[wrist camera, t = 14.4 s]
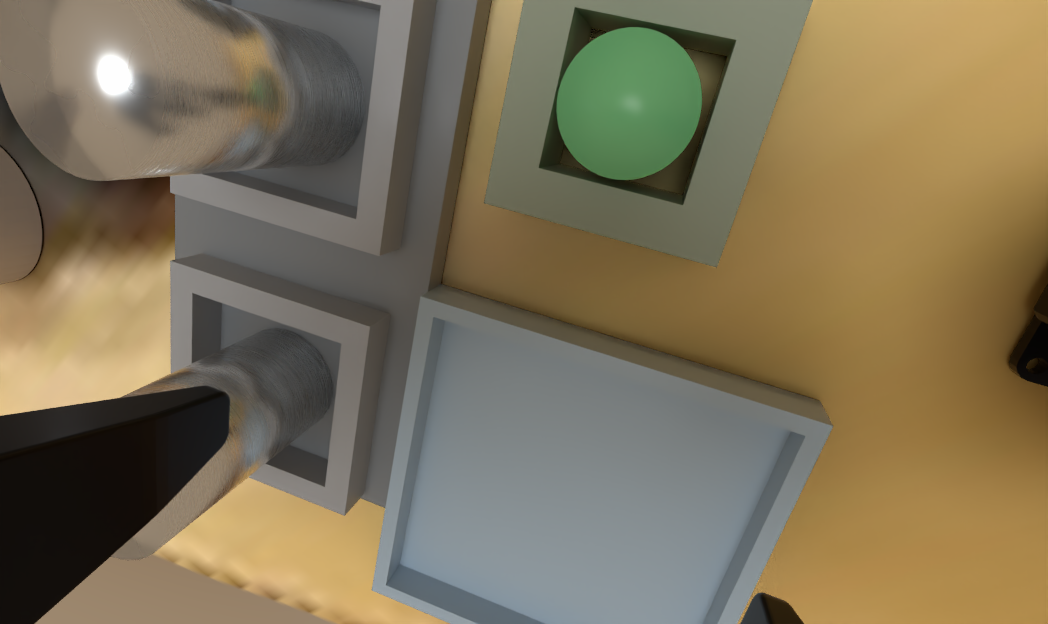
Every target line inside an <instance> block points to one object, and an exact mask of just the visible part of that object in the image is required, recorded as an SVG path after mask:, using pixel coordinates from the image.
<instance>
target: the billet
mask: <svg viewBox="0 0 1048 624" xmlns="http://www.w3.org/2000/svg"><path fill="white" fill-rule="evenodd" d="M204 385H205V386H211V387H213V388H216V389H219V390H221V391H224V392H226V393H227V394H228V395H229V398H230V419H229V434H228V438H227V440H226V442H225V444H224V445H223V446H222V448H221V449H220V450H219V451H218V452H217V453H216V454H215V455H214V456H213V457H212V458H211V459H210V460H209V461H208V462H207V464H206V465H205V466H204V467H203V468H202V469H201V470H200V471H199V472H198V473H197V474H196V475H195V476H194V477H193V478H192V479H191V480H190V481H189V482H188V484H187V485H186V486H185V487H184V488H183V489H182V490H181V491H180V492H179V493H178V494H177V495H176V496H175V497H174V498H173V499H172V500H171V501H170V502H169V504H168V505H167V506H166V507H165V508H164V509H163V510H162V511H161V512H160V513H159V514H158V515H157V516H155V517H154V518H153V519H152V520H151V521H150V522H149V523H148V524H147V525H146V526H145V527H143V528H142V529H141V530H140V531H139V532H138V533H137V534H136V535H134V536H133V537H132V538H131V539H130V540H129V541H128V542H126V543H125V544H124V545H123V546H122V547H121V548H120V549H119V550H117V551H116V552H115V553H114V554H113V555H112V556H111V557H114V558H118V559H123V560H139V559H143V558H146V557H148V556H150V555H151V554H153V553H154V552H155V551H157V550H158V549H159V548H160V547H162V546H163V545H164V544H165V543H167V542H168V541H169V540H170V539H172V538H173V537H174V536H175V535H177V534H178V533H179V532H180V531H182V530H183V529H184V528H185V527H187V526H188V525H189V524H190V523H192V522H193V521H194V520H195V519H197V518H198V517H199V516H200V515H202V514H203V513H204V512H205V511H207V510H208V509H209V508H210V507H212V506H213V505H214V504H215V503H217V502H218V501H219V500H220V499H222V498H223V497H224V496H225V495H227V494H228V493H229V492H230V491H232V490H233V489H234V488H235V487H237V486H238V485H239V484H240V483H242V482H243V481H244V480H245V479H247V478H248V477H249V476H250V475H252V474H253V473H254V472H255V471H257V470H258V469H259V468H260V467H262V466H263V465H264V464H265V463H267V462H268V461H269V460H270V459H272V458H273V457H274V456H275V455H277V454H278V453H279V452H280V451H282V450H283V449H284V448H285V447H287V446H288V445H289V444H290V443H292V442H293V441H294V440H295V439H297V438H298V437H299V436H300V435H302V434H303V433H304V432H305V431H307V430H308V429H309V428H310V427H312V426H313V425H314V424H315V423H317V422H318V421H319V420H320V419H321V418H322V417H323V416H324V415H325V414H326V413H327V411H328V409H329V408H330V405H331V402H332V397H333V383H332V378H331V375H330V372H329V369H328V367H327V365H326V363H325V361H324V359H323V358H322V356H321V355H320V354H319V352H318V351H317V350H316V349H315V348H314V347H313V346H312V345H311V344H310V343H309V342H308V341H307V340H305V339H304V338H302V337H301V336H299V335H297V334H295V333H293V332H290V331H287V330H284V329H265V330H262V331H259V332H257V333H255V334H253V335H251V336H249V337H247V338H245V339H243V340H241V341H238V342H236V343H234V344H232V345H230V346H228V347H226V348H224V349H222V350H220V351H217V352H215V353H213V354H211V355H209V356H207V357H205V358H203V359H201V360H198V361H196V362H194V363H192V364H190V365H188V366H186V367H184V368H182V369H180V370H177V371H175V372H173V373H171V374H169V375H167V376H165V377H163V378H161V379H159V380H156V381H154V382H152V383H150V384H148V385H146V386H144V387H142V388H140V389H137V390H135V391H133V392H131V393H129V394H127V395H125V396H123V397H130V396H137V395H143V394H150V393H157V392H163V391H170V390H177V389H183V388H190V387H197V386H204ZM123 397H121V398H123Z"/></svg>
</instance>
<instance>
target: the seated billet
mask: <svg viewBox="0 0 1048 624" xmlns="http://www.w3.org/2000/svg"><path fill="white" fill-rule="evenodd" d="M0 83H1V86H2V89H3V92H4V95H5V97H6V100H7V102H8V104H9V107H10V109H11V111H12V113H13V115H14V117H15V119H16V120H17V122H18V124H19V125H20V127H21V128H22V130H23V131H24V133H25V134H26V136H27V137H28V138H29V140H30V141H31V142H32V143H33V145H34V146H35V147H36V148H37V149H38V150H39V151H40V152H41V153H42V154H43V155H44V156H45V157H46V158H48V159H49V160H50V161H51V162H52V163H54V164H55V165H57V166H58V167H59V168H61V169H63V170H64V171H66V172H68V173H70V174H72V175H75V176H77V177H80V178H83V179H88V180H95V181H107V180H121V179H134V178H148V177H162V176H175V175H189V174H202V173H216V172H230V171H243V170H257V169H271V168H284V167H298V166H311V165H322V164H327V163H330V162H333V161H335V160H337V159H338V158H340V157H341V156H343V155H344V154H345V153H346V152H347V151H348V150H349V149H350V148H351V147H352V145H353V144H354V142H355V141H356V139H357V137H358V135H359V133H360V130H361V127H362V124H363V119H364V113H365V97H364V90H363V85H362V81H361V78H360V75H359V73H358V70H357V68H356V66H355V64H354V62H353V60H352V59H351V57H350V56H349V55H348V53H347V52H346V51H345V50H344V49H343V47H342V46H341V45H340V44H338V43H337V42H336V41H335V40H334V39H332V38H331V37H329V36H327V35H325V34H323V33H321V32H318V31H315V30H312V29H309V28H305V27H302V26H298V25H295V24H292V23H288V22H285V21H282V20H278V19H275V18H271V17H268V16H265V15H261V14H258V13H255V12H251V11H248V10H244V9H241V8H238V7H234V6H231V5H228V4H224V3H221V2H217V1H214V0H0Z"/></svg>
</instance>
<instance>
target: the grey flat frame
mask: <svg viewBox="0 0 1048 624" xmlns="http://www.w3.org/2000/svg"><path fill="white" fill-rule="evenodd" d="M214 1H217V2H221V3H224V4H228V5H231V6H234V7H238V8H241V9H244V10H248V11H251V12H255V13H258V14H261V15H265V16H268V17H271V18H275V19H278V20H282V21H285V22H288V23H292V24H295V25H298V26H302V27H305V28H309V29H312V30H315V31H318V32H321V33H323V34H325V35H327V36H329V37H331V38H332V39H334V40H335V41H336V42H337V43H338V44H340V45H341V46H342V47H343V49H344V50H345V51H346V52H347V53H348V55H349V56H350V57H351V59H352V60H353V62H354V64H355V66H356V68H357V70H358V73H359V75H360V78H361V81H362V85H363V90H364V97H365V113H364V119H363V124H362V127H361V130H360V133H359V135H358V137H357V139H356V141H355V142H354V144H353V145H352V147H351V148H350V149H349V150H348V151H347V152H346V153H345V154H344V155H343V156H341V157H340V158H338V159H337V160H335V161H333V162H330V163H327V164H322V165H311V166H298V167H284V168H271V169H257V170H243V171H230V172H216V173H202V174H189V175H175V176H170V193H174V194H175V260H172V261H170V277H171V373H173V372H175V371H177V370H180V369H182V368H184V367H186V366H188V365H190V364H192V363H194V362H196V361H198V360H201V359H203V358H205V357H207V356H209V355H211V354H213V353H215V352H217V351H220V350H222V349H224V348H226V347H228V346H230V345H232V344H234V343H236V342H238V341H241V340H243V339H245V338H247V337H249V336H251V335H253V334H255V333H257V332H259V331H262V330H265V329H284V330H287V331H290V332H293V333H295V334H297V335H299V336H301V337H302V338H304V339H305V340H307V341H308V342H309V343H310V344H311V345H312V346H313V347H314V348H315V349H316V350H317V351H318V352H319V354H320V355H321V356H322V358H323V359H324V361H325V363H326V365H327V367H328V369H329V372H330V375H331V378H332V383H333V397H332V402H331V405H330V408H329V409H328V411H327V413H326V414H325V415H324V416H323V417H322V418H321V419H320V420H319V421H318V422H317V423H315V424H314V425H313V426H312V427H310V428H309V429H308V430H307V431H305V432H304V433H303V434H302V435H300V436H299V437H298V438H297V439H295V440H294V441H293V442H292V443H290V444H289V445H288V446H287V447H285V448H284V449H283V450H282V451H280V452H279V453H278V454H277V455H275V456H274V457H273V458H272V459H270V460H269V461H268V462H267V463H265V464H264V465H263V466H262V467H260V468H259V469H258V470H257V471H255V472H254V473H253V474H252V475H250V476H249V478H252V479H254V480H257V481H259V482H262V483H264V484H267V485H269V486H272V487H274V488H277V489H279V490H282V491H284V492H287V493H289V494H292V495H294V496H297V497H299V498H302V499H304V500H307V501H309V502H312V503H314V504H317V505H319V506H322V507H324V508H327V509H329V510H332V511H334V512H337V513H339V514H342V515H344V516H345V515H346V513H347V512H348V511H349V510H350V509H351V508H352V507H353V506H354V504H355V503H356V502H357V501H358V500H359V499H360V498H361V499H364V500H366V501H369V502H372V503H374V504H377V505H379V506H382V507H384V508H386V502H387V495H388V489H389V483H390V477H391V471H392V465H393V459H394V453H395V447H396V441H397V435H398V429H399V423H400V417H401V411H402V405H403V399H404V393H405V387H406V381H407V375H408V369H409V363H410V357H411V351H412V345H413V339H414V333H415V327H416V321H417V315H418V309H419V302H420V296H422V295H424V294H425V293H427V292H428V291H430V290H432V289H433V288H435V287H437V286H438V285H440V284H441V280H442V275H443V269H444V264H445V258H446V252H447V247H448V241H449V236H450V230H451V224H452V219H453V213H454V207H455V202H456V196H457V191H458V185H459V179H460V174H461V168H462V163H463V157H464V151H465V146H466V140H467V134H468V129H469V123H470V118H471V112H472V106H473V101H474V95H475V90H476V84H477V78H478V73H479V67H480V61H481V56H482V50H483V45H484V39H485V33H486V28H487V22H488V17H489V11H490V5H491V0H214Z"/></svg>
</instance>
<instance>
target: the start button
mask: <svg viewBox="0 0 1048 624" xmlns="http://www.w3.org/2000/svg"><path fill="white" fill-rule="evenodd" d="M701 107H702V90H701V83H700V79H699V75H698V72H697V70H696V67H695V65H694V63H693V61H692V60H691V58H690V57H689V55H688V54H687V52H686V51H685V50H684V49H683V48H682V47H681V46H680V45H679V44H678V43H677V42H676V41H675V40H673V39H671V38H670V37H668V36H667V35H665V34H663V33H660V32H658V31H655V30H652V29H648V28H641V27H627V28H621V29H616V30H613V31H610V32H607V33H605V34H603V35H601V36H599V37H597V38H596V39H594V40H593V41H591V42H590V43H589V44H587V45H586V46H585V47H584V48H583V49H582V50H581V51H580V52H579V53H578V54H577V55H576V56H575V58H574V59H573V60H572V62H571V63H570V65H569V66H568V68H567V70H566V72H565V74H564V76H563V78H562V81H561V84H560V88H559V91H558V97H557V121H558V126H559V130H560V133H561V136H562V139H563V141H564V143H565V145H566V147H567V148H568V150H569V151H570V153H571V154H572V155H573V156H574V158H575V159H576V160H577V161H578V162H579V163H580V164H582V165H583V166H584V167H585V168H587V169H588V170H590V171H591V172H593V173H595V174H598V175H600V176H603V177H606V178H610V179H615V180H633V179H639V178H643V177H646V176H649V175H652V174H654V173H656V172H658V171H660V170H662V169H663V168H665V167H666V166H668V165H669V164H670V163H672V162H673V161H674V160H675V159H676V158H677V157H678V156H679V155H680V154H681V153H682V152H683V151H684V149H685V148H686V146H687V145H688V144H689V142H690V140H691V138H692V137H693V135H694V133H695V130H696V128H697V125H698V122H699V118H700V114H701Z"/></svg>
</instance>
